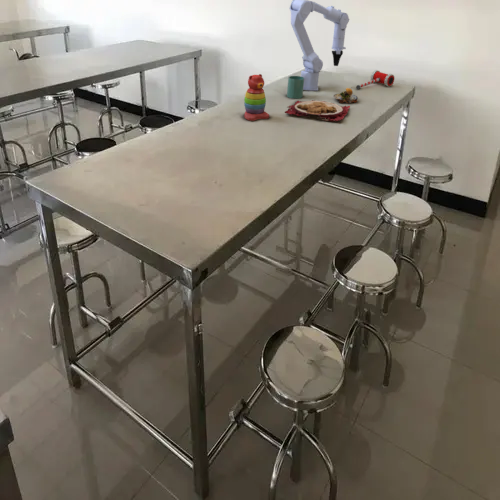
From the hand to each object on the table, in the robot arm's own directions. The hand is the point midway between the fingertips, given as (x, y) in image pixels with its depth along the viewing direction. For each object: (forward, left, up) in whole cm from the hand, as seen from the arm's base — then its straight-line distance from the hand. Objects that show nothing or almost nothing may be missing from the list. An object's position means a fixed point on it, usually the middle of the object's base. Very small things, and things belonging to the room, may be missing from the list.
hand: (335, 65), depth 255 cm
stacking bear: (-37, -59, -11) cm, 71 cm away
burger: (+4, -26, -11) cm, 28 cm away
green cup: (-20, -24, -10) cm, 33 cm away
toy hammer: (+23, +5, -11) cm, 25 cm away
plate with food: (-9, -47, -11) cm, 49 cm away
